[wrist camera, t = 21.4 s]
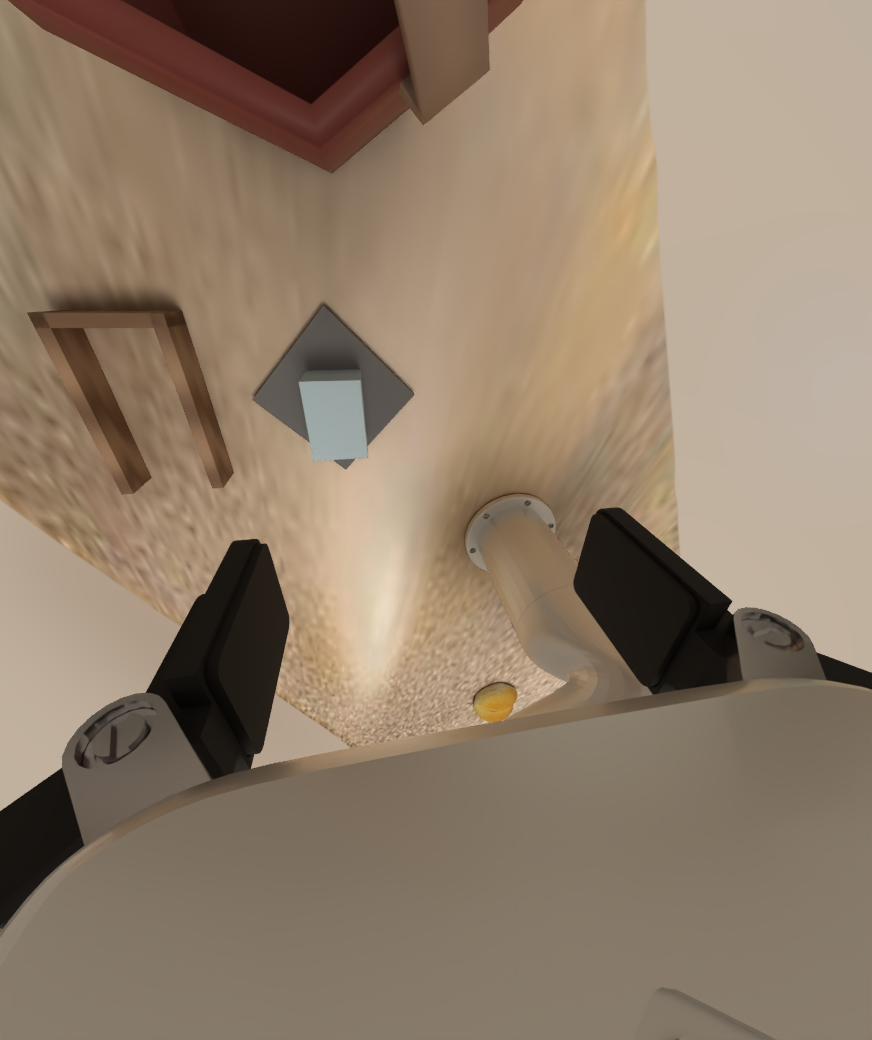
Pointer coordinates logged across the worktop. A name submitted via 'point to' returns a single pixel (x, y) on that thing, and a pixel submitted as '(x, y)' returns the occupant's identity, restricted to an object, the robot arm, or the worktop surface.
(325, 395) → the block
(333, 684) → the worktop surface
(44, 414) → the worktop surface
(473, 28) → the bucket
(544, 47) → the worktop surface
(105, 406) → the shelf bay
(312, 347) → the mat
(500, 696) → the bread roll
